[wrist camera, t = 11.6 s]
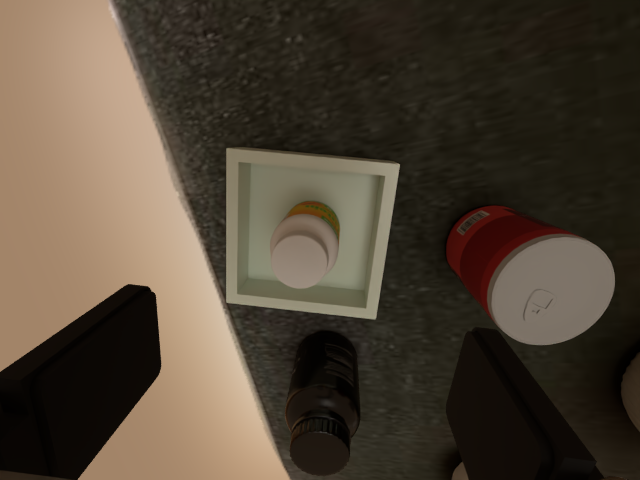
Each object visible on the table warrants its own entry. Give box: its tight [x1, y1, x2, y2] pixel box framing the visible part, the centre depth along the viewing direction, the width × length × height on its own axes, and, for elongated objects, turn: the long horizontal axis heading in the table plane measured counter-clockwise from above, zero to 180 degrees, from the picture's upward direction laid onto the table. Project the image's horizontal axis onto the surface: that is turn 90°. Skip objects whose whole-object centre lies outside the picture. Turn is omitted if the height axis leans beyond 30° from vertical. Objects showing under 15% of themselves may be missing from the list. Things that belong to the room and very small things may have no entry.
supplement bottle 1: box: [270, 200, 340, 289], centre depth 27 cm, size 5×5×10 cm
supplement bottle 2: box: [285, 333, 360, 476], centre depth 31 cm, size 7×7×12 cm
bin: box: [226, 147, 400, 319], centre depth 30 cm, size 14×14×4 cm
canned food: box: [446, 205, 615, 345], centre depth 27 cm, size 8×8×11 cm
